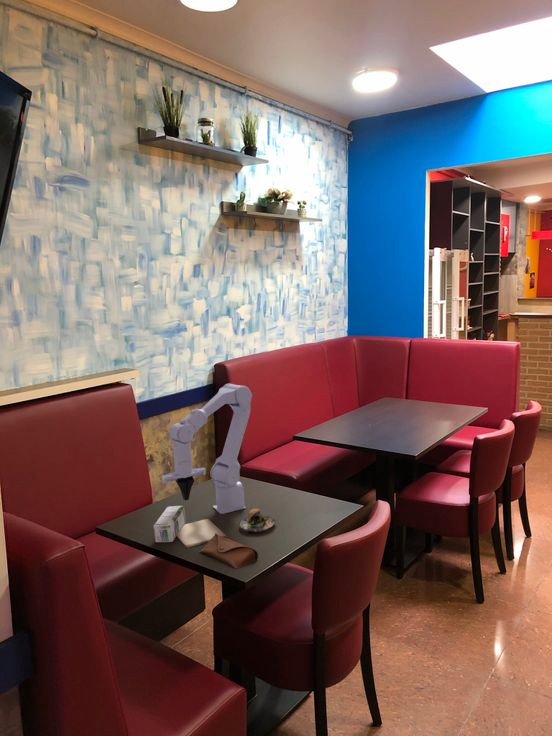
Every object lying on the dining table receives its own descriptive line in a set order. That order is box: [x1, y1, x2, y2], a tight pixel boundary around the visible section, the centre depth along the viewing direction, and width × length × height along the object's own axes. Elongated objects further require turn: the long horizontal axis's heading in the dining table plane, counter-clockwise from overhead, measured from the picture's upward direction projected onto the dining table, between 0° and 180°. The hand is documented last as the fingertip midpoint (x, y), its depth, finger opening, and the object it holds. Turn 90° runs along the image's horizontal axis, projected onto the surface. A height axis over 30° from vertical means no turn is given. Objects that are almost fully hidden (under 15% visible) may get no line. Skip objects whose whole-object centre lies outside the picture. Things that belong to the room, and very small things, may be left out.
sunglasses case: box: [198, 533, 259, 570], centre depth 171 cm, size 18×7×7 cm, turn 48°
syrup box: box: [153, 505, 186, 543], centre depth 187 cm, size 6×6×14 cm
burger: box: [238, 505, 276, 535], centre depth 189 cm, size 12×12×8 cm
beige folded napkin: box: [176, 518, 227, 549], centre depth 186 cm, size 13×16×1 cm
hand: (186, 499), depth 194 cm, fingers closed
